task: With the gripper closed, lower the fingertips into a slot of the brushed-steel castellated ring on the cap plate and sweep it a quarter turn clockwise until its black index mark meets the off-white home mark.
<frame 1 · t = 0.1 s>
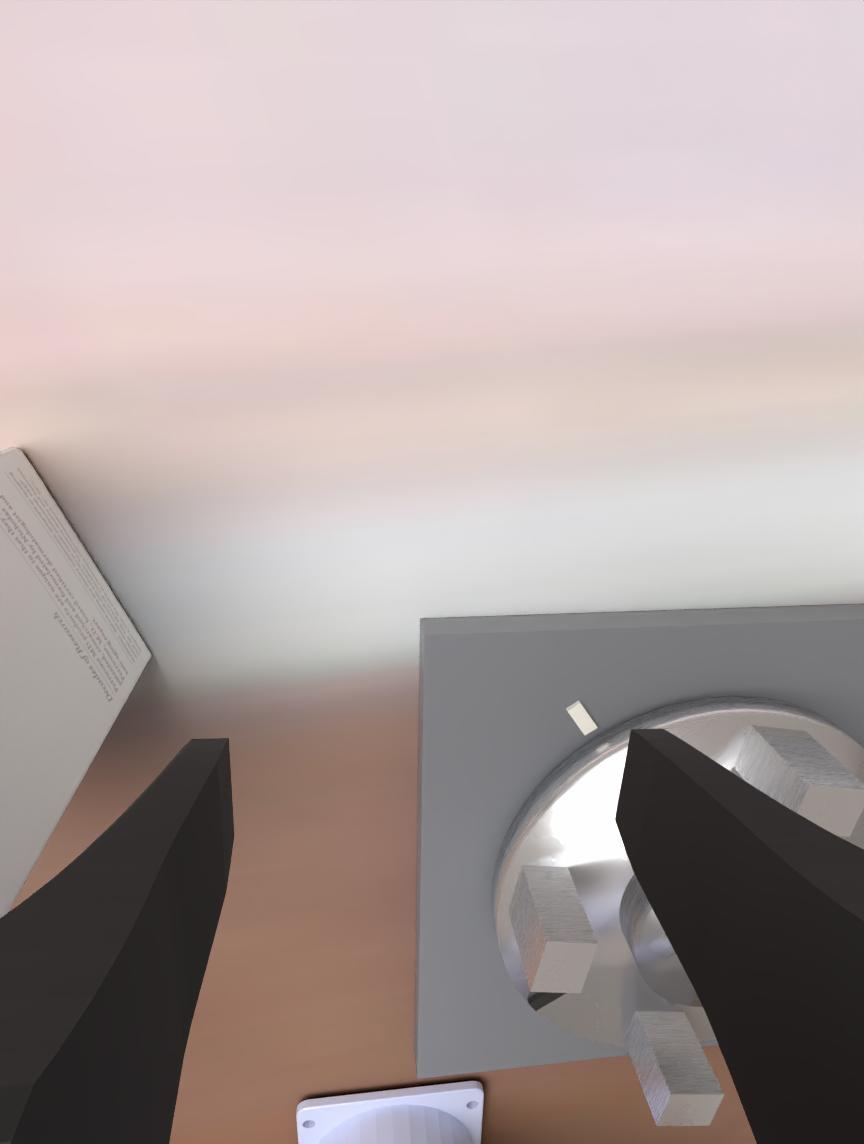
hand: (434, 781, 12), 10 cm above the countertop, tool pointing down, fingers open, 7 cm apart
ring nut: (719, 920, 24), point 4 cm above the countertop, hinge at 0.0°
cap plate: (673, 844, 27), on the countertop
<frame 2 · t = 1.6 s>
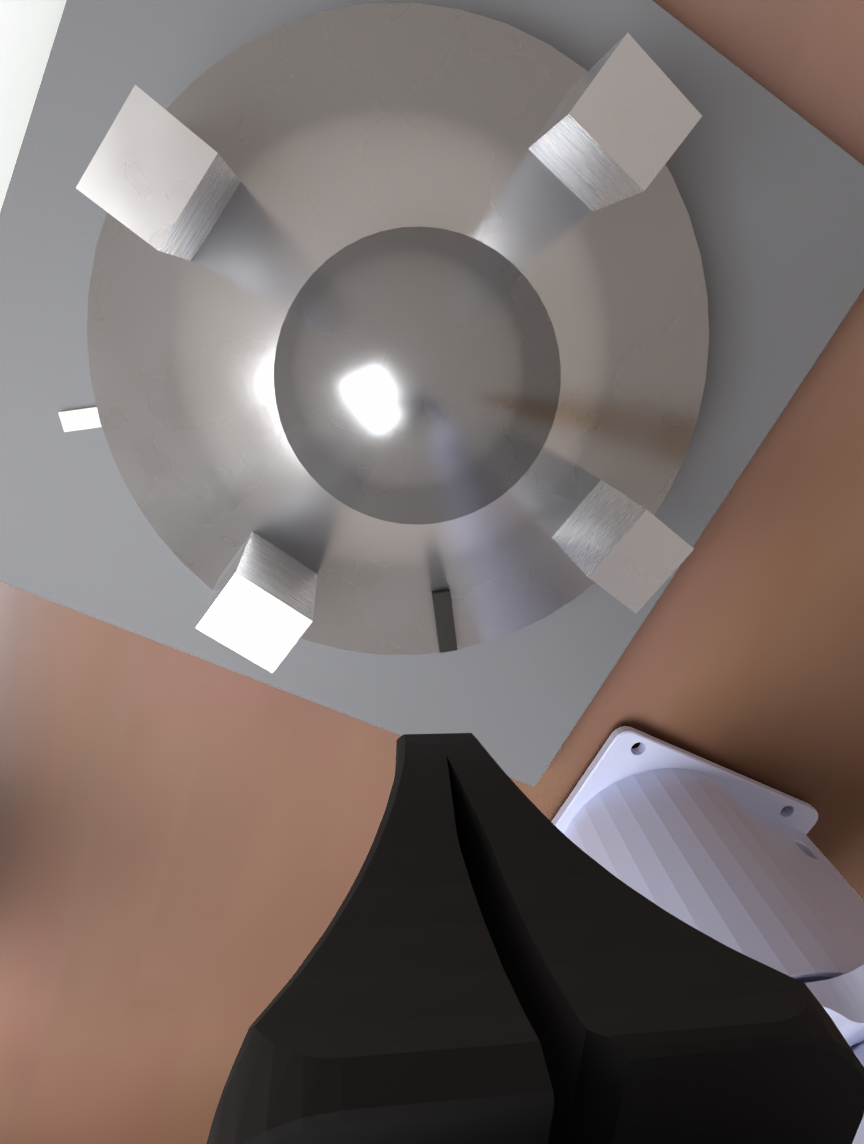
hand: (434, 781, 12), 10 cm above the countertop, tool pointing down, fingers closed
ring nut: (417, 383, 16), point 4 cm above the countertop, hinge at 0.0°
cap plate: (404, 370, 19), on the countertop
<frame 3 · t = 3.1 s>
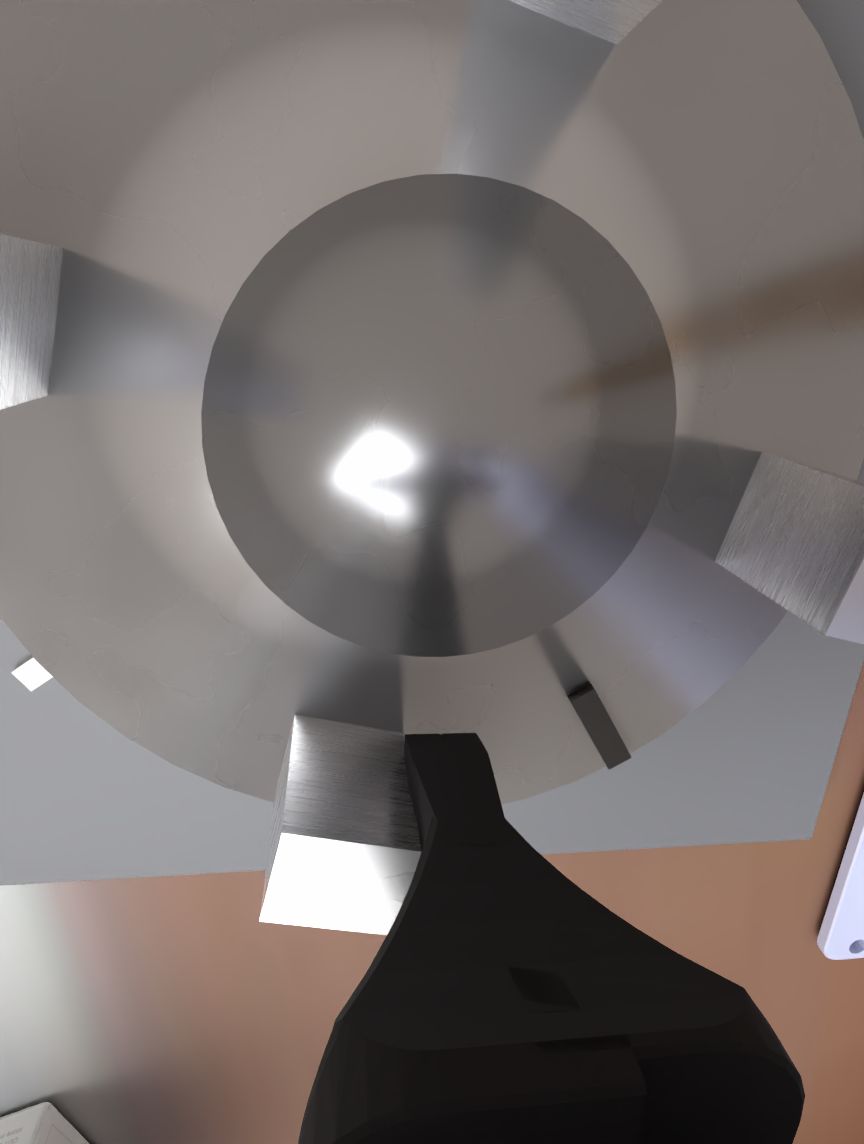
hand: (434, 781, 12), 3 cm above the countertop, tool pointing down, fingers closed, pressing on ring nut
ring nut: (441, 435, 10), point 4 cm above the countertop, hinge at 3.3°, touching gripper
cap plate: (415, 403, 13), on the countertop
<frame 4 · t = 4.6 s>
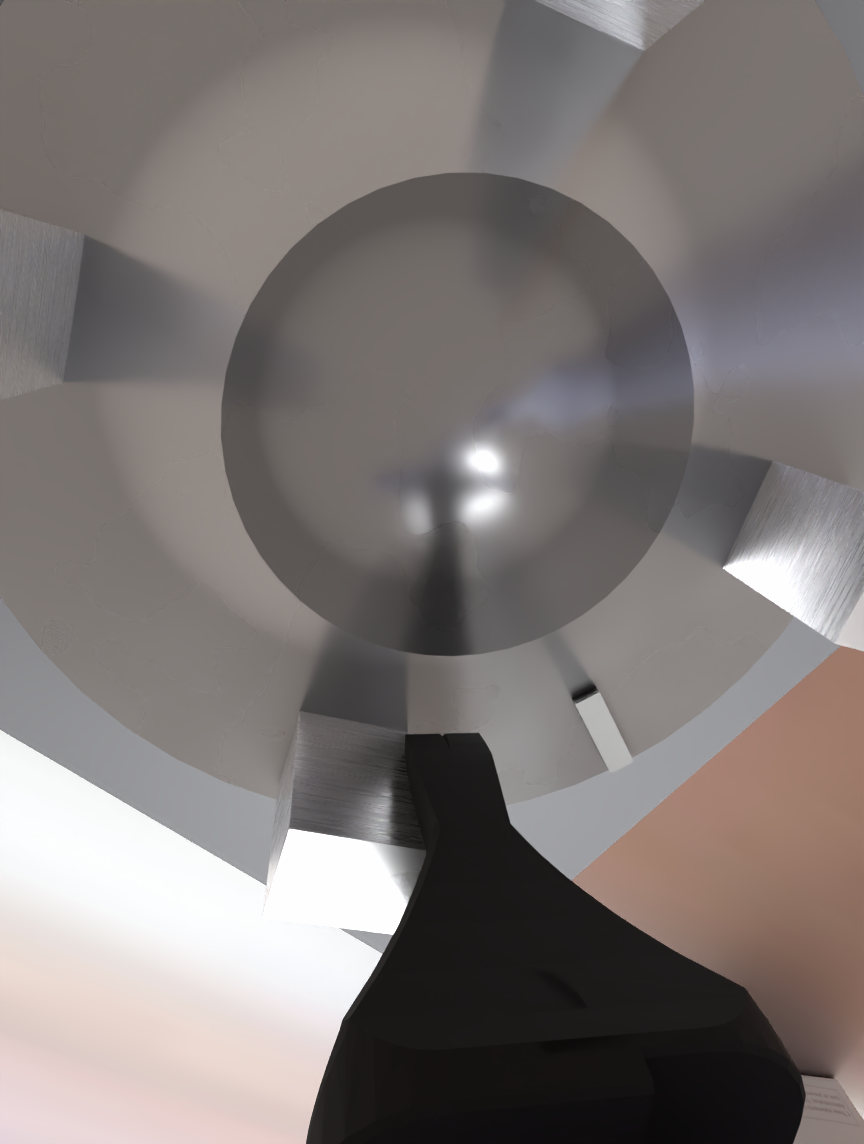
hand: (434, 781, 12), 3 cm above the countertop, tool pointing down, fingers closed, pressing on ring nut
supplement box: (694, 1130, 23), on the countertop
ring nut: (458, 434, 10), point 4 cm above the countertop, hinge at 53.8°, touching gripper
cap plate: (427, 402, 13), on the countertop
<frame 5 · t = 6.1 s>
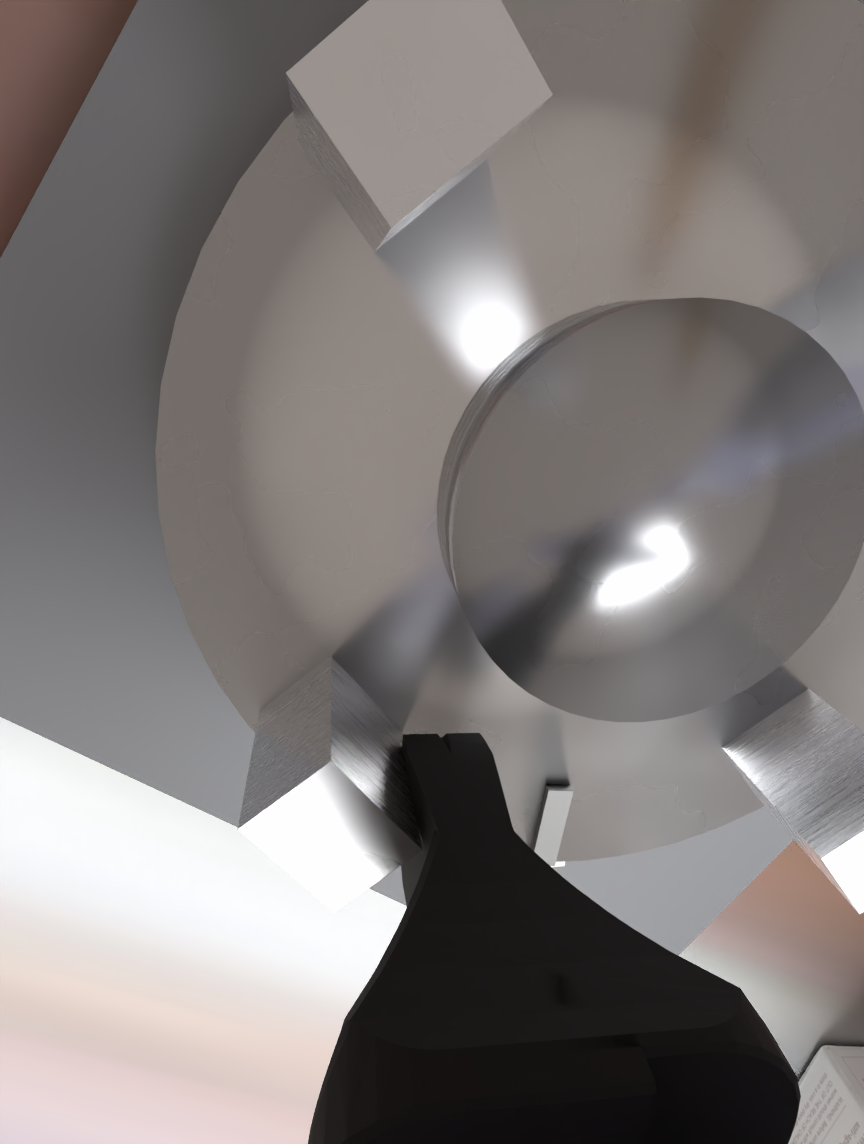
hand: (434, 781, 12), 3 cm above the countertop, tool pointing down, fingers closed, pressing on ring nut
supplement box: (860, 1113, 24), on the countertop
ring nut: (648, 519, 11), point 4 cm above the countertop, hinge at 96.6°, touching gripper
cap plate: (573, 470, 14), on the countertop
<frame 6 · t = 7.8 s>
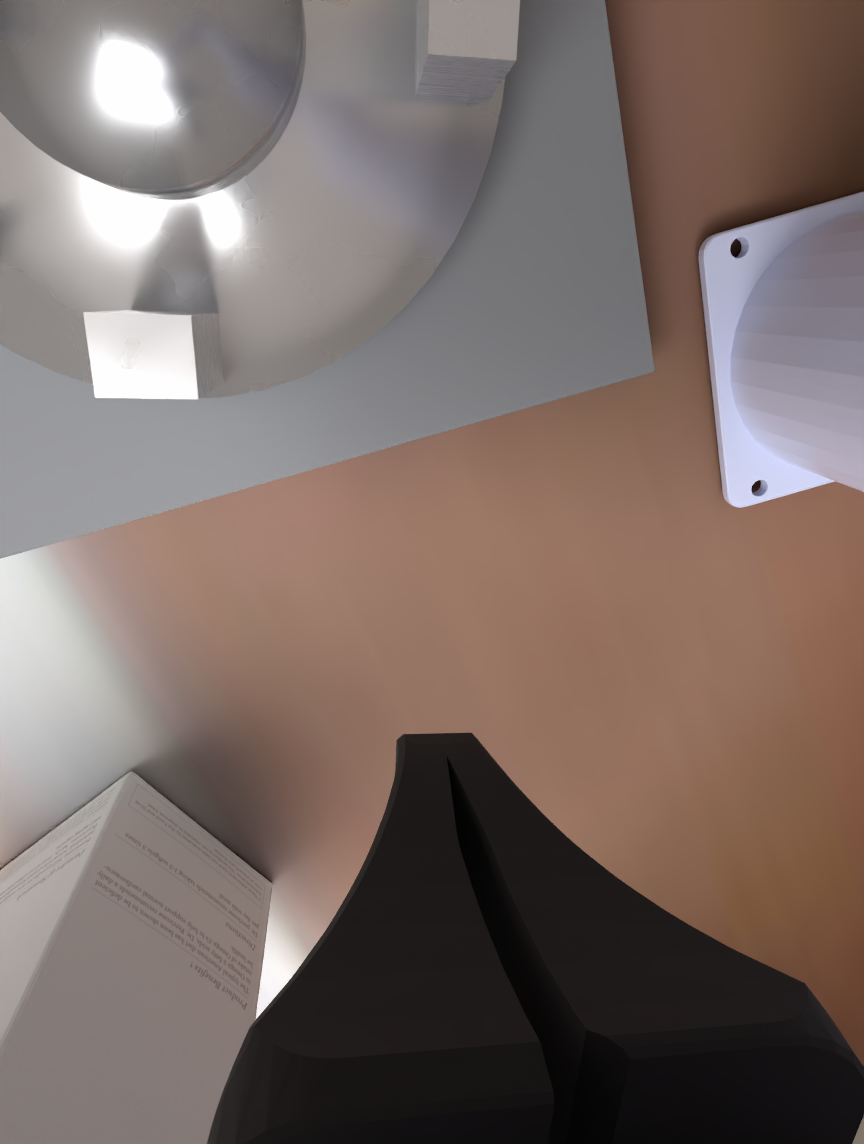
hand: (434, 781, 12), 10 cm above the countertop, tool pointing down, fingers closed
supplement box: (137, 877, 26), on the countertop
ring nut: (134, 6, 13), point 4 cm above the countertop, hinge at 96.6°
cap plate: (178, 65, 17), on the countertop
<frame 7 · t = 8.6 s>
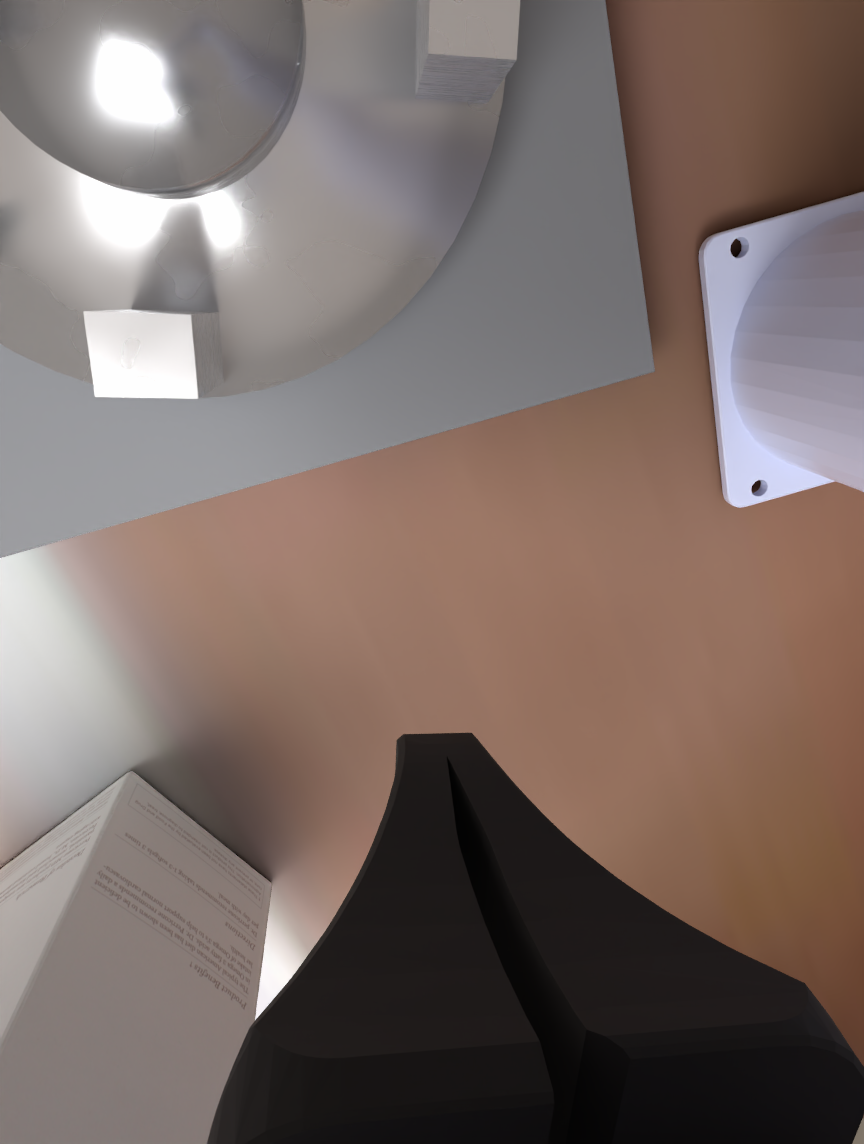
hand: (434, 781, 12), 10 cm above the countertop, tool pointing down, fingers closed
supplement box: (137, 877, 26), on the countertop
ring nut: (134, 6, 13), point 4 cm above the countertop, hinge at 96.6°
cap plate: (178, 64, 17), on the countertop
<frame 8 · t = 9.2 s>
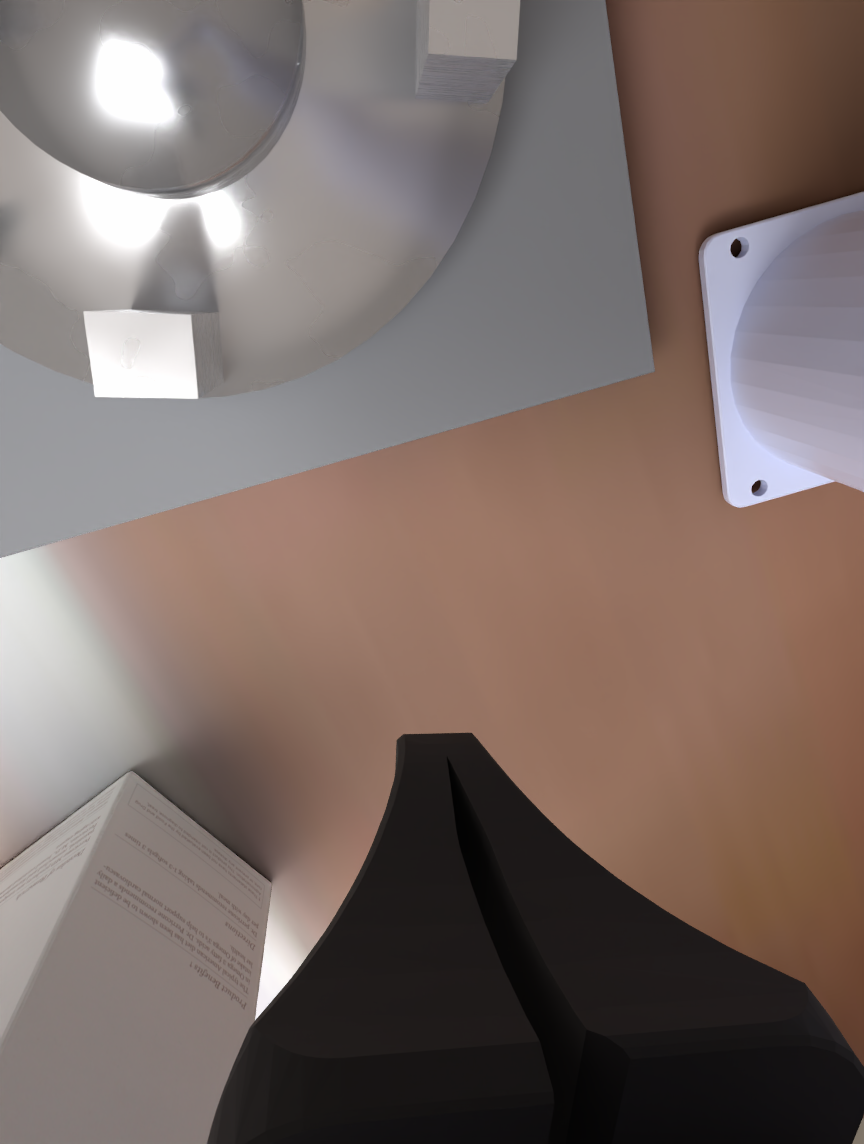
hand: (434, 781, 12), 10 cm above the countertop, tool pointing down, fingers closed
supplement box: (137, 877, 26), on the countertop
ring nut: (134, 6, 13), point 4 cm above the countertop, hinge at 96.6°
cap plate: (178, 64, 17), on the countertop
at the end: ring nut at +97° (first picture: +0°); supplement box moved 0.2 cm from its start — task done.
